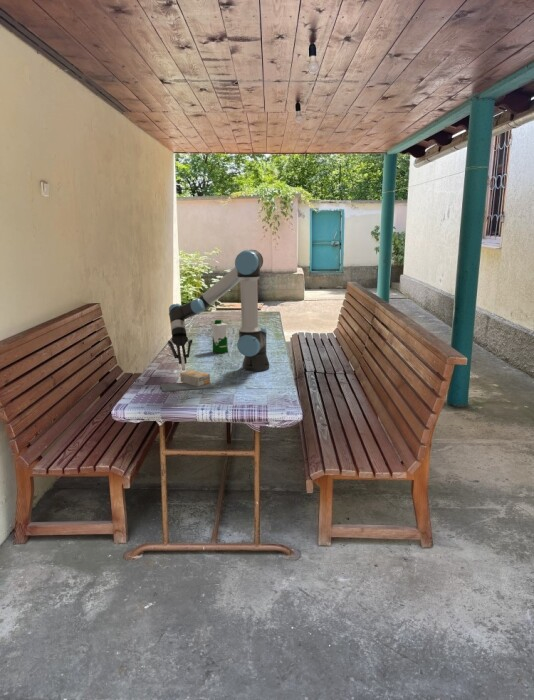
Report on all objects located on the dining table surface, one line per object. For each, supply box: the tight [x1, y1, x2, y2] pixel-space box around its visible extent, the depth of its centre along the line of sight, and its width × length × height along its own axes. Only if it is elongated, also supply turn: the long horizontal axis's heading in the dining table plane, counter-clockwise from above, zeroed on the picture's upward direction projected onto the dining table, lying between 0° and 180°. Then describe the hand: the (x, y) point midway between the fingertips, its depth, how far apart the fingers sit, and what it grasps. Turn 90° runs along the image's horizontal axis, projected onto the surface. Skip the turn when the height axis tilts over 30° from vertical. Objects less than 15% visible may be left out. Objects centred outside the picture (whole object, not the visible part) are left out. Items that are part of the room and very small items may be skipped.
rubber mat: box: [160, 382, 214, 393], centre depth 257 cm, size 24×12×1 cm, turn 106°
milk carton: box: [211, 319, 229, 354], centre depth 331 cm, size 9×9×20 cm
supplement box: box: [179, 369, 211, 386], centre depth 262 cm, size 8×5×13 cm
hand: (183, 368), depth 265 cm, fingers closed
